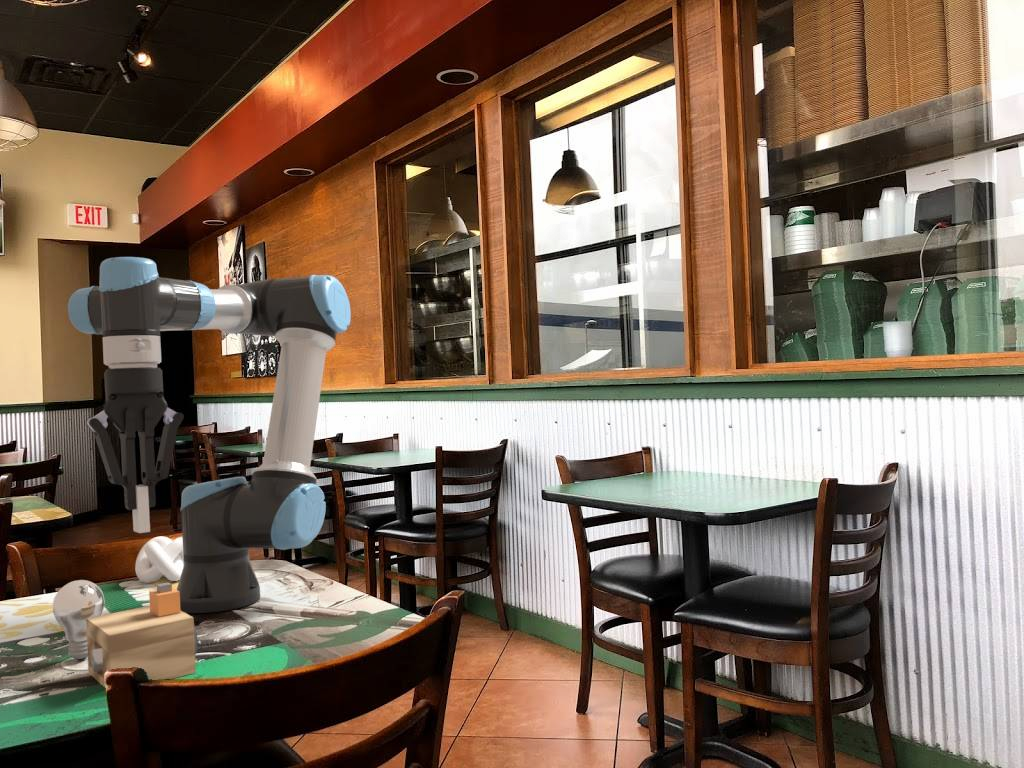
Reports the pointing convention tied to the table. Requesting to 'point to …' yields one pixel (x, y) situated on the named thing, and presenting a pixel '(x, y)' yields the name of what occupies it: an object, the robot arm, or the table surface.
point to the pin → (98, 656)
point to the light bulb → (77, 613)
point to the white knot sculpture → (160, 560)
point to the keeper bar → (164, 600)
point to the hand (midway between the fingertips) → (141, 531)
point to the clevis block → (143, 643)
